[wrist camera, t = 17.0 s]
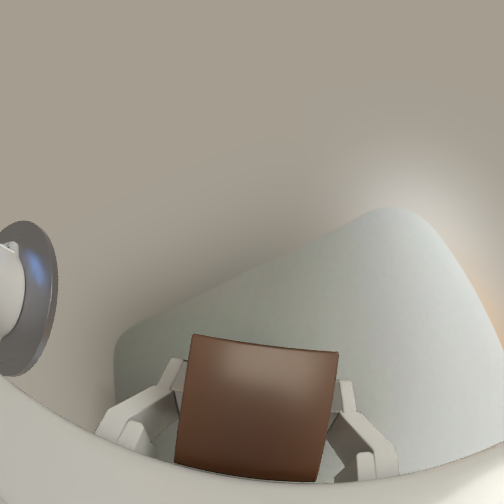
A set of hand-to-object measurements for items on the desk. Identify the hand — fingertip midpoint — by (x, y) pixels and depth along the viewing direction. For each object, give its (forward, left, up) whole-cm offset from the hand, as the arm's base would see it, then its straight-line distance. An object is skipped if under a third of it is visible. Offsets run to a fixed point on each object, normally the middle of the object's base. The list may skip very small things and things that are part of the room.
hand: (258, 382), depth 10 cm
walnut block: (0, -1, -4) cm, 4 cm away
